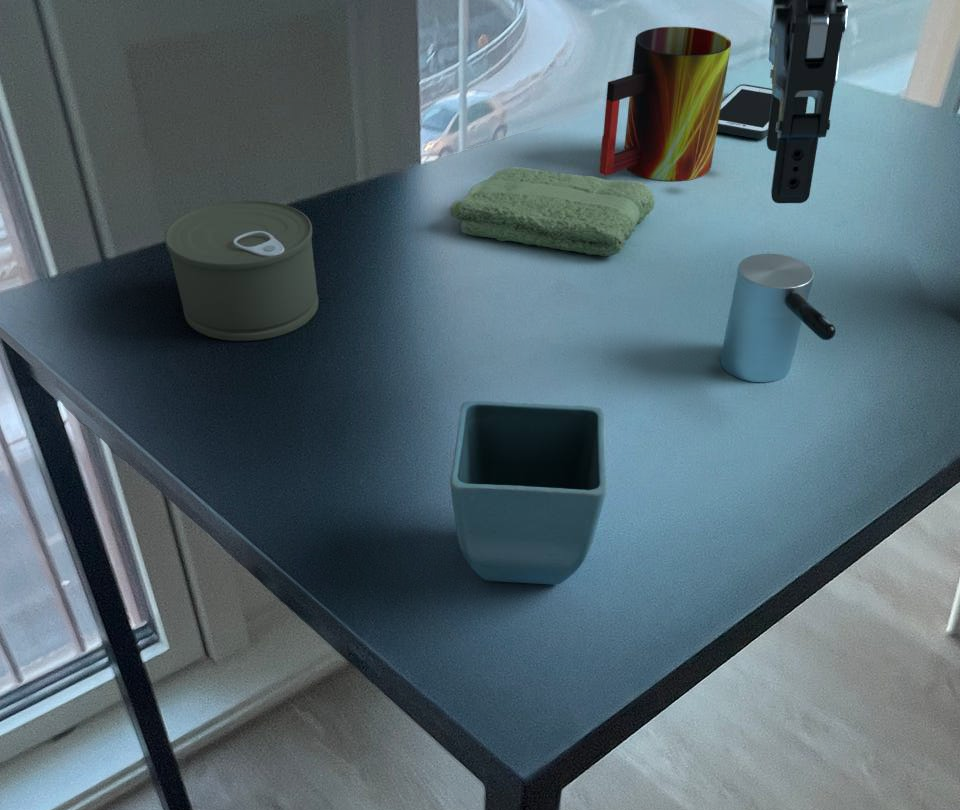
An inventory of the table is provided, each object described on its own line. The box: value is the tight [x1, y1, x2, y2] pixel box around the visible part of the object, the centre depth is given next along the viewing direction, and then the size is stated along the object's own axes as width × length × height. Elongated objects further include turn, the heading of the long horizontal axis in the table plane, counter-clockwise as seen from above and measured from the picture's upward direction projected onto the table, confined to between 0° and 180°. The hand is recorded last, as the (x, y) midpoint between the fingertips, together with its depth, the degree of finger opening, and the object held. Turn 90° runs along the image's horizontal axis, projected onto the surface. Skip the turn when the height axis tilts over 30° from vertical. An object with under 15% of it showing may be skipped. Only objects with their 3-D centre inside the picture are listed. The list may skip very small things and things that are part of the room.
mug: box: [599, 26, 732, 182], centre depth 105 cm, size 10×14×12 cm
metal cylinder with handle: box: [719, 253, 837, 383], centre depth 77 cm, size 11×6×8 cm, turn 18°
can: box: [164, 199, 319, 342], centre depth 86 cm, size 12×12×7 cm
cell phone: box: [717, 83, 772, 140], centre depth 120 cm, size 8×15×1 cm, turn 152°
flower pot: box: [449, 400, 608, 585], centre depth 62 cm, size 9×9×9 cm
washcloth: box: [449, 166, 656, 257], centre depth 99 cm, size 13×18×3 cm
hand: (785, 173), depth 64 cm, fingers open, 8 cm apart
